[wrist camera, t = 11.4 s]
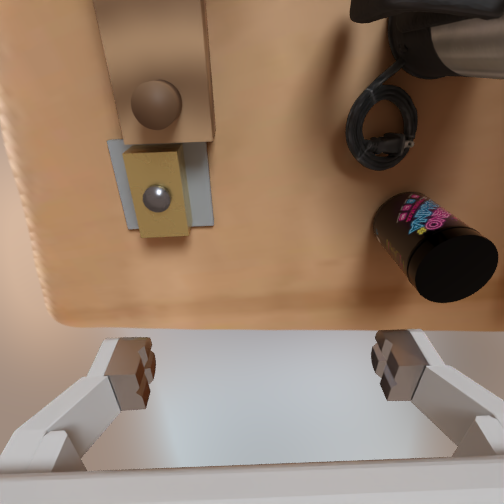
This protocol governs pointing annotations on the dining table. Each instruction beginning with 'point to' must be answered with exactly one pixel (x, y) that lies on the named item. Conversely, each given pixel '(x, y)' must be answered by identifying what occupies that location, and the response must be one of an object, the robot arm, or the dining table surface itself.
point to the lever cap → (159, 189)
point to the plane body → (159, 69)
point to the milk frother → (424, 61)
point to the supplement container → (434, 247)
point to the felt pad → (195, 178)
